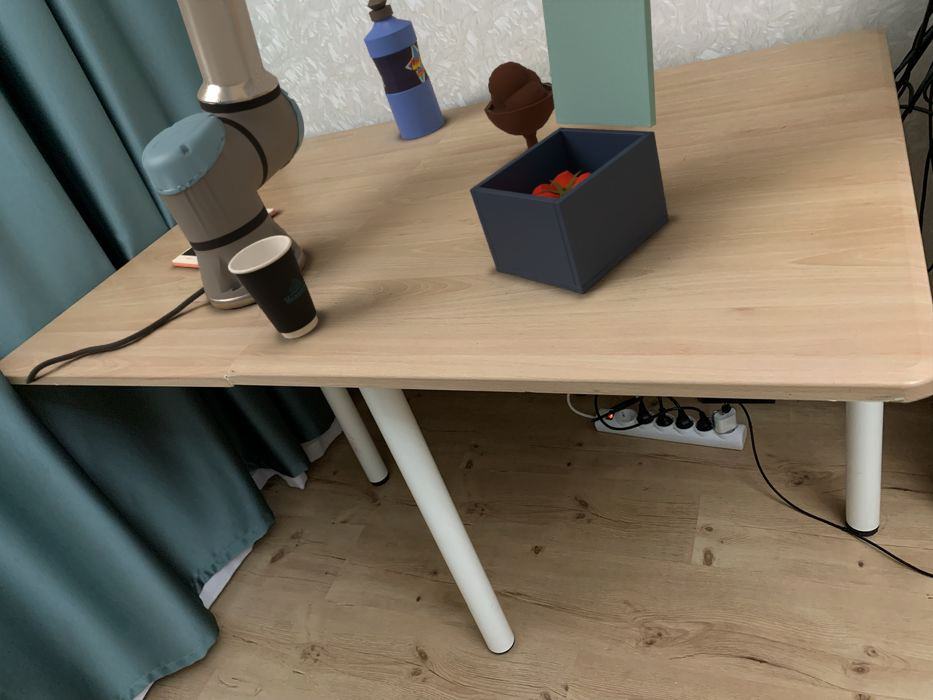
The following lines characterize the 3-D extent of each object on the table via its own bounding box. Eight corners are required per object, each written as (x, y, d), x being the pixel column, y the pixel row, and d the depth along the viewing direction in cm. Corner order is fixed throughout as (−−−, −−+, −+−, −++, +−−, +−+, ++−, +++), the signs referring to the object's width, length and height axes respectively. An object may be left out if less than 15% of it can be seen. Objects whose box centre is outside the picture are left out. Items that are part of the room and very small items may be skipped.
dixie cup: (275, 320, 91) (234, 248, 85) (331, 301, 91) (294, 227, 84) (267, 354, 85) (221, 279, 79) (327, 334, 84) (286, 256, 78)
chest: (583, 294, 73) (559, 203, 67) (496, 270, 83) (469, 189, 77) (669, 220, 80) (654, 131, 74) (579, 206, 90) (560, 127, 84)
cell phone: (277, 212, 125) (274, 208, 124) (202, 268, 114) (199, 263, 114) (247, 212, 130) (245, 208, 130) (173, 266, 120) (170, 261, 119)
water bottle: (394, 143, 136) (342, 9, 122) (409, 124, 143) (362, -4, 129) (436, 133, 132) (388, -5, 119) (450, 114, 139) (406, -19, 125)
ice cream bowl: (575, 159, 102) (550, 56, 94) (502, 181, 104) (472, 82, 96) (568, 135, 111) (545, 38, 102) (500, 155, 113) (472, 63, 104)
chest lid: (641, -52, 65) (647, -53, 66) (538, -32, 75) (544, -34, 76) (650, 127, 73) (656, 125, 74) (556, 123, 83) (561, 121, 84)
